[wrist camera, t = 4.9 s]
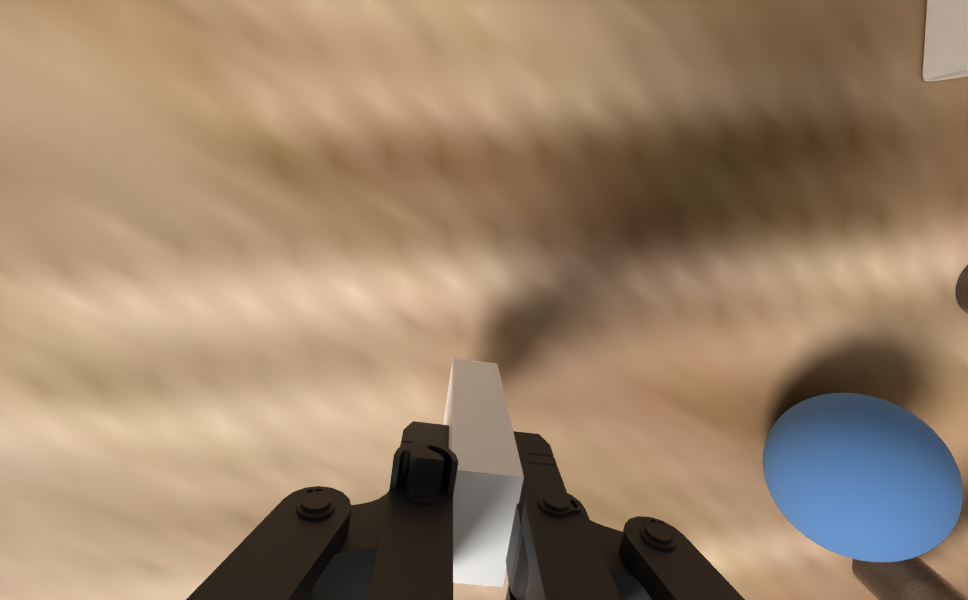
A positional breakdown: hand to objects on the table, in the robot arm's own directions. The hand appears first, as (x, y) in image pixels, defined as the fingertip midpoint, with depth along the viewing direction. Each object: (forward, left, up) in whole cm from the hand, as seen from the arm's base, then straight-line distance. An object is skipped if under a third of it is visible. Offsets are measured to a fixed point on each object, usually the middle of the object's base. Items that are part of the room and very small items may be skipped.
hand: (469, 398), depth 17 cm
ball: (+1, +14, +1) cm, 14 cm away
